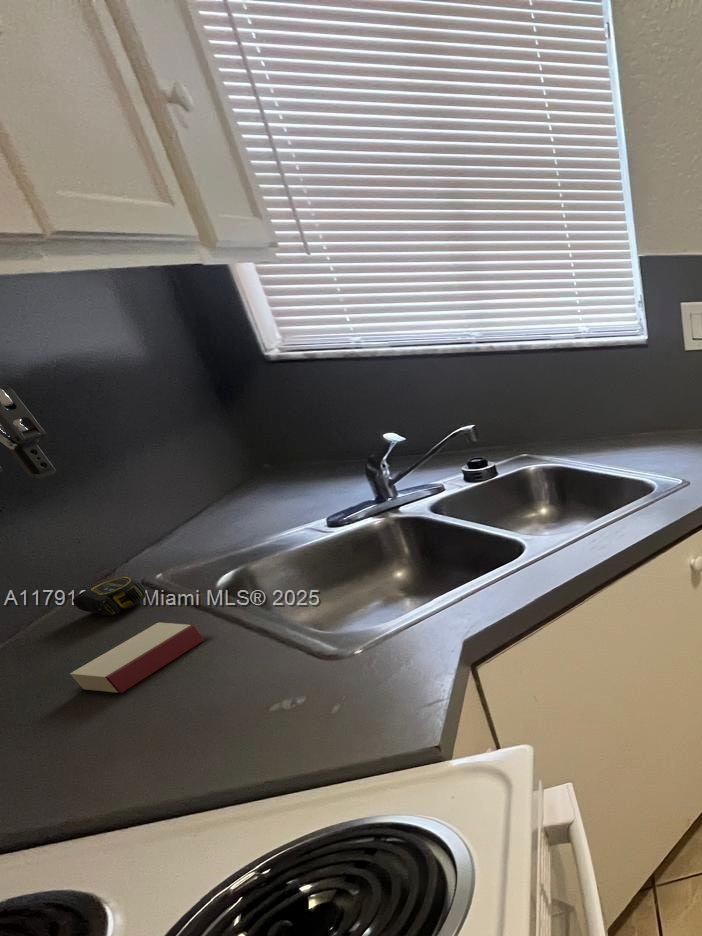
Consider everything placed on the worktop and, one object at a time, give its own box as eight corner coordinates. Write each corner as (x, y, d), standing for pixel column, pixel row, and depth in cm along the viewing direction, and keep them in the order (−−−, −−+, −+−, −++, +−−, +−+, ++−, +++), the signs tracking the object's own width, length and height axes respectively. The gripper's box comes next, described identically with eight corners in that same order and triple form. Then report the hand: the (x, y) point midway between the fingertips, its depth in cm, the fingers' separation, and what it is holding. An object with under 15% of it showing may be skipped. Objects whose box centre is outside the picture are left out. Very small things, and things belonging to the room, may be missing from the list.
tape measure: (81, 616, 94) (64, 595, 92) (134, 592, 100) (119, 572, 98) (109, 623, 92) (91, 602, 90) (161, 598, 97) (146, 578, 95)
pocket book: (169, 637, 88) (158, 622, 87) (204, 640, 87) (193, 624, 86) (83, 689, 79) (69, 673, 78) (121, 693, 78) (107, 677, 77)
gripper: (0, 325, 69) (98, 465, 78) (-95, 327, 71) (10, 463, 80) (-91, 339, 63) (26, 489, 72) (-192, 341, 65) (-66, 486, 74)
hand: (18, 475), depth 76 cm, fingers open, 8 cm apart
